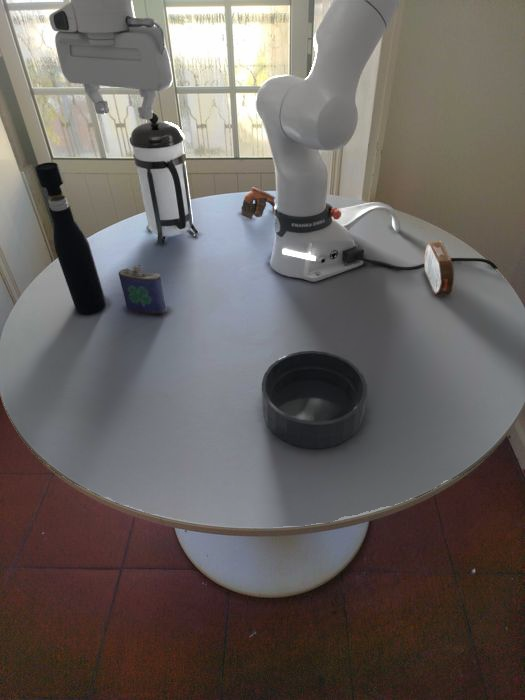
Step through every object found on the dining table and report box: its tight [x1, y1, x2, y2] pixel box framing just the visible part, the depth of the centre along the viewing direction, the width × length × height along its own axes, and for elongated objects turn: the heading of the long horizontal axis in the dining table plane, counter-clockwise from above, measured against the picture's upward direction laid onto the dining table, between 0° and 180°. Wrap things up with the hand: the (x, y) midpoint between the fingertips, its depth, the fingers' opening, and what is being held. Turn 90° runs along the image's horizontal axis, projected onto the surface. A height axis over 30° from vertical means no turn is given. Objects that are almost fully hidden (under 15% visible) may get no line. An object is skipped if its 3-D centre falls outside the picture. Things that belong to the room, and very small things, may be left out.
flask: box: [118, 264, 168, 316], centre depth 96 cm, size 9×3×11 cm, turn 74°
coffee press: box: [129, 112, 199, 245], centre depth 117 cm, size 17×16×30 cm
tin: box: [423, 239, 455, 296], centre depth 102 cm, size 15×3×8 cm, turn 178°
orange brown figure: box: [240, 186, 276, 220], centre depth 133 cm, size 12×10×8 cm
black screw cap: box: [261, 350, 368, 449], centre depth 75 cm, size 16×16×6 cm
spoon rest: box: [332, 201, 401, 232], centre depth 123 cm, size 24×12×7 cm, turn 93°
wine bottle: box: [34, 161, 107, 316], centre depth 92 cm, size 6×6×30 cm
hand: (124, 116), depth 79 cm, fingers open, 8 cm apart
